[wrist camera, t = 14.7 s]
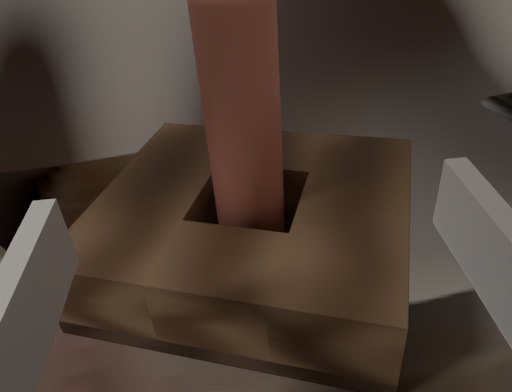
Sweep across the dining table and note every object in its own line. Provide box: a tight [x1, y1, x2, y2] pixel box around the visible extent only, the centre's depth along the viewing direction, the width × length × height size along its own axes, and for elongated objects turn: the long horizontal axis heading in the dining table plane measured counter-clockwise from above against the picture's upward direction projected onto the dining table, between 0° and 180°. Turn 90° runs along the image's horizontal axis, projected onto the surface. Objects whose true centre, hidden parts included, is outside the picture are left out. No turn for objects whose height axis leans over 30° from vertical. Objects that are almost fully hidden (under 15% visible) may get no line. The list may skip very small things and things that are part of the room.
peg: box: [187, 0, 285, 233], centre depth 26 cm, size 4×4×15 cm
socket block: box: [59, 123, 411, 392], centre depth 29 cm, size 18×16×5 cm
